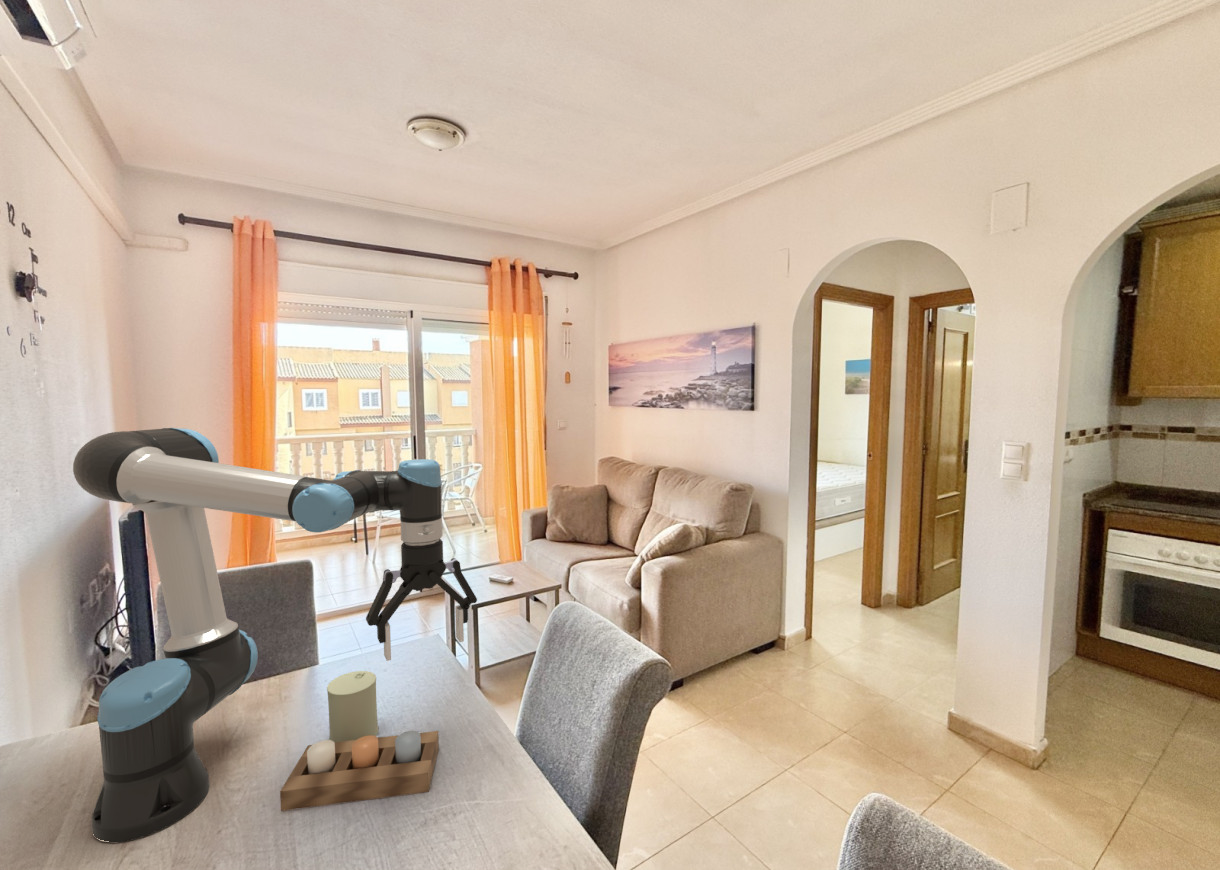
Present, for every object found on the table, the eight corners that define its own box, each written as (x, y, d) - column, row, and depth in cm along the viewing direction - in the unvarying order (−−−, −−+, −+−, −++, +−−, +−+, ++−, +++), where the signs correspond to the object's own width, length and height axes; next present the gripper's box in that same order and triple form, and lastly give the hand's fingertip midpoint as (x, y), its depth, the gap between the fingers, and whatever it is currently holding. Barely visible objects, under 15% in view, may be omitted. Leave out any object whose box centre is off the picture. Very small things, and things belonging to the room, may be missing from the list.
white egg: (304, 782, 93) (303, 757, 93) (313, 765, 97) (312, 741, 97) (330, 779, 94) (329, 754, 93) (339, 762, 98) (338, 738, 98)
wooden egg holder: (281, 810, 89) (280, 791, 89) (308, 762, 101) (307, 745, 100) (428, 791, 93) (428, 772, 93) (438, 747, 105) (438, 730, 105)
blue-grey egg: (393, 771, 95) (392, 747, 95) (398, 755, 100) (398, 732, 99) (418, 768, 96) (418, 744, 96) (423, 752, 101) (422, 729, 100)
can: (387, 723, 113) (385, 669, 112) (362, 751, 104) (360, 693, 103) (346, 720, 114) (344, 667, 113) (319, 749, 105) (316, 691, 104)
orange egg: (349, 776, 94) (348, 752, 94) (356, 760, 98) (355, 736, 98) (375, 773, 95) (374, 749, 95) (381, 757, 99) (380, 734, 99)
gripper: (352, 556, 90) (357, 675, 92) (491, 535, 104) (493, 639, 105) (347, 546, 97) (351, 657, 98) (478, 527, 110) (480, 625, 112)
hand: (425, 648), depth 102 cm, fingers open, 13 cm apart
